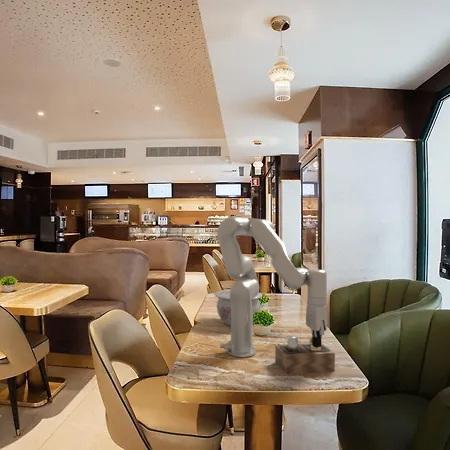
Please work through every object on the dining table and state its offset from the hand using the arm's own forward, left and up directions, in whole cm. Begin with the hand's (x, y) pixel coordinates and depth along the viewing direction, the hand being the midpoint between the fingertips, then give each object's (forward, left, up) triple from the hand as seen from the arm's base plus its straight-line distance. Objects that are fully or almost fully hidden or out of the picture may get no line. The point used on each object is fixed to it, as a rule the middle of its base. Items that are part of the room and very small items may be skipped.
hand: (316, 346), depth 141 cm
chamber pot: (-17, +63, -8) cm, 66 cm away
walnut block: (-5, 0, -8) cm, 9 cm away
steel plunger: (-10, 0, -3) cm, 11 cm away
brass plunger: (0, 0, -7) cm, 7 cm away
